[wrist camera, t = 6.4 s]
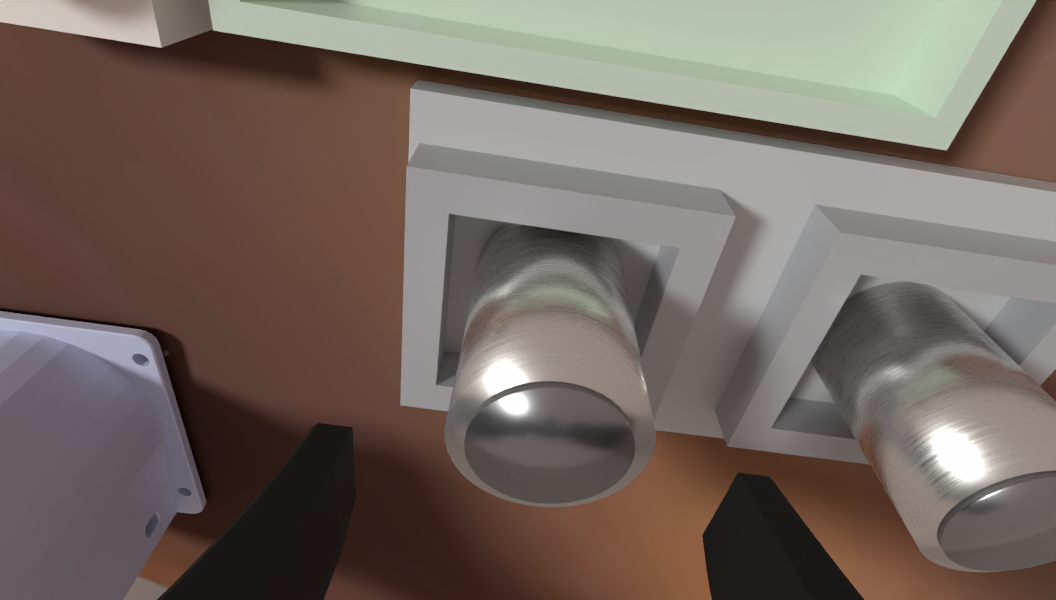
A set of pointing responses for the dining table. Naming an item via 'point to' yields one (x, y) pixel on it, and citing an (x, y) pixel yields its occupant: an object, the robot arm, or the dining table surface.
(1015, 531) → the cylinder
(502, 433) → the cylinder
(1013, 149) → the dining table surface
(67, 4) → the button housing
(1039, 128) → the dining table surface
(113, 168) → the dining table surface
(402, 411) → the dining table surface
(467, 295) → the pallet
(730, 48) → the tray
